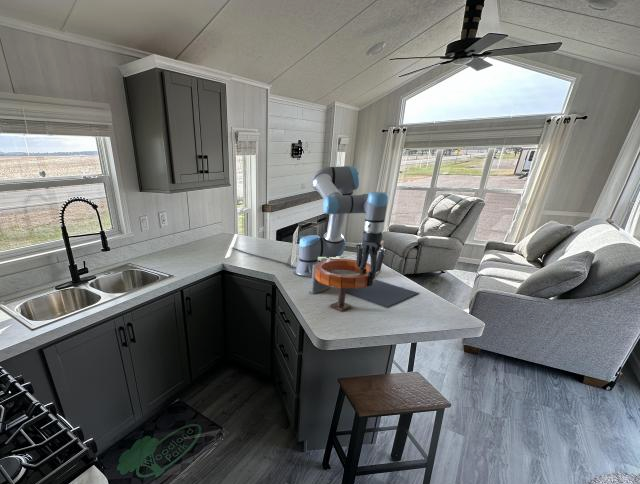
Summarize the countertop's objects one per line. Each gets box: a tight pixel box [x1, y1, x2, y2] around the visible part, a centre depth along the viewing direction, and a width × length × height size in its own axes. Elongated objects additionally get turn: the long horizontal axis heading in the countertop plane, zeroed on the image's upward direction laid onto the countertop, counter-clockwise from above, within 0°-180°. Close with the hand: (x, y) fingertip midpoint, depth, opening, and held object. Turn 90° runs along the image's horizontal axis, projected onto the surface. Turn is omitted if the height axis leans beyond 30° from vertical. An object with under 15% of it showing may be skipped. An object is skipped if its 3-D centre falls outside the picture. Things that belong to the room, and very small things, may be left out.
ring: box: [315, 258, 377, 289], centre depth 153 cm, size 27×27×5 cm
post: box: [330, 288, 352, 312], centre depth 157 cm, size 7×7×14 cm
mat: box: [345, 279, 419, 308], centre depth 176 cm, size 28×28×1 cm
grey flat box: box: [310, 258, 332, 295], centre depth 177 cm, size 4×14×18 cm, turn 129°
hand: (365, 284), depth 145 cm, fingers closed on ring, 3 cm apart
